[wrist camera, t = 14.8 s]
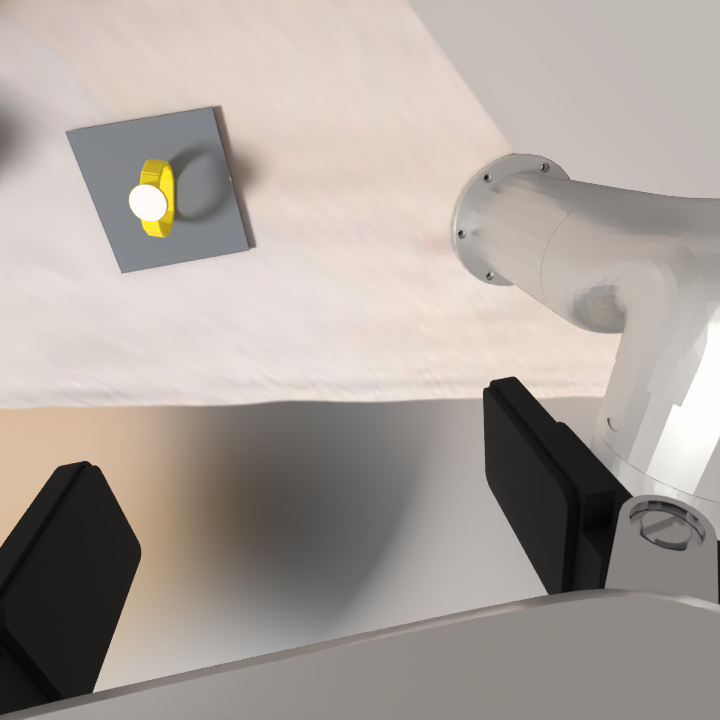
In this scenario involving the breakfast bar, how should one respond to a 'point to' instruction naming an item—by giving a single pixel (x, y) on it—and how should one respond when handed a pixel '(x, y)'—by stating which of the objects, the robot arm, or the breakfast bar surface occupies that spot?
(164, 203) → the watch
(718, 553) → the robot arm
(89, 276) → the breakfast bar surface
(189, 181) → the slate coaster
